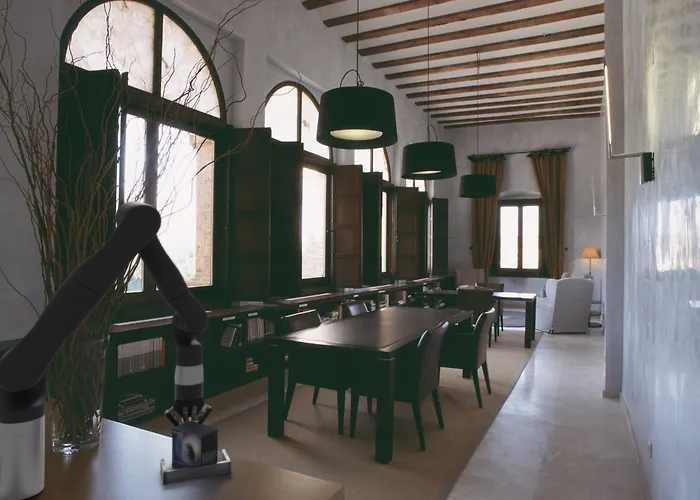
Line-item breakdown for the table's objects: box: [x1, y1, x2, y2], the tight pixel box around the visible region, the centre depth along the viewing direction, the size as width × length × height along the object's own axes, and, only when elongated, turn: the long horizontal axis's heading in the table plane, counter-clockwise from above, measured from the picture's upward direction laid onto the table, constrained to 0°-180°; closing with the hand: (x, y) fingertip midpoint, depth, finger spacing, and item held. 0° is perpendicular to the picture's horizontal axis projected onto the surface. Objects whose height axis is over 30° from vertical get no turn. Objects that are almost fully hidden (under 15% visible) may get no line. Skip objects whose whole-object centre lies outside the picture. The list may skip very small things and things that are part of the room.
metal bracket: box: [159, 448, 232, 486], centre depth 126 cm, size 16×8×3 cm, turn 115°
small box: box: [171, 420, 219, 469], centre depth 128 cm, size 11×6×10 cm, turn 61°
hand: (188, 442), depth 139 cm, fingers closed
